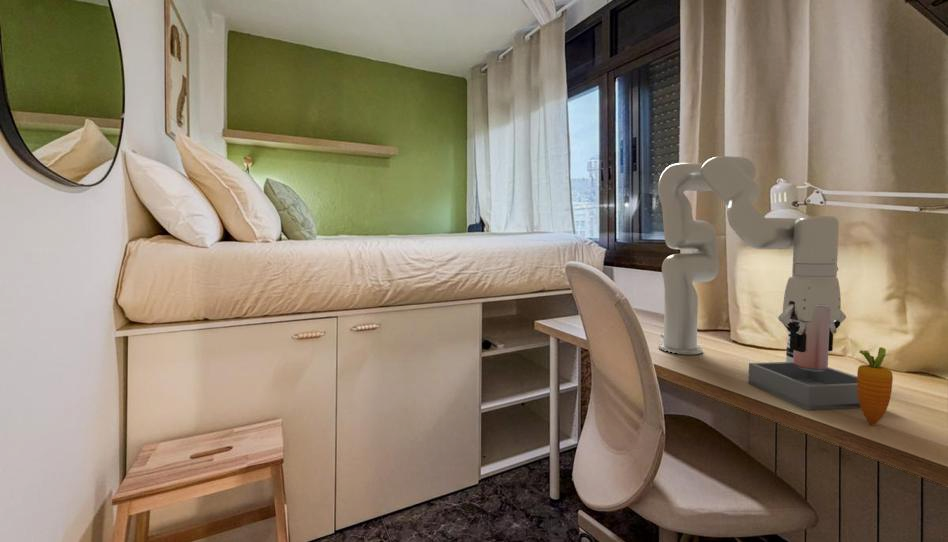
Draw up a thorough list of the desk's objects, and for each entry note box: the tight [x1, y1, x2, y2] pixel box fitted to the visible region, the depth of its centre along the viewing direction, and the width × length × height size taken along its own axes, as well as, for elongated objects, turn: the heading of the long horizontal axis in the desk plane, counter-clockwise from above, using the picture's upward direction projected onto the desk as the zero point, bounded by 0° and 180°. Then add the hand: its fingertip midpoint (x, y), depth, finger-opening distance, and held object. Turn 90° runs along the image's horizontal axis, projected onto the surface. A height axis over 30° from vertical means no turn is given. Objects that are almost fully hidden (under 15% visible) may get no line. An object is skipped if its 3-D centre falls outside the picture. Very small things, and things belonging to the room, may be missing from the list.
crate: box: [747, 361, 861, 411], centre depth 88 cm, size 16×16×5 cm
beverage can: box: [793, 305, 830, 372], centre depth 87 cm, size 6×6×15 cm
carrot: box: [856, 346, 894, 426], centre depth 73 cm, size 5×5×15 cm
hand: (810, 349), depth 88 cm, fingers closed on beverage can, 5 cm apart
